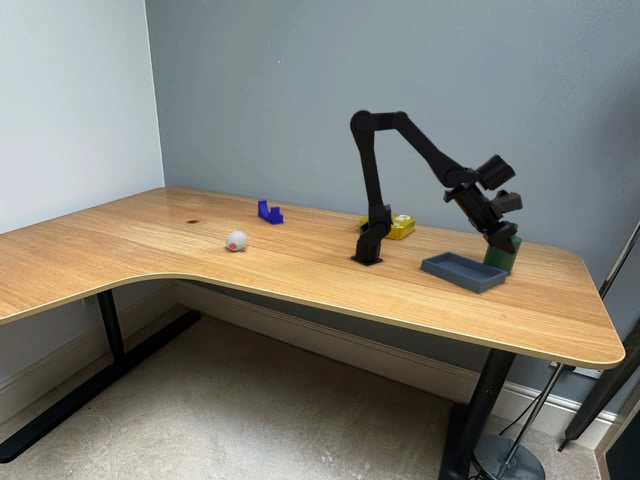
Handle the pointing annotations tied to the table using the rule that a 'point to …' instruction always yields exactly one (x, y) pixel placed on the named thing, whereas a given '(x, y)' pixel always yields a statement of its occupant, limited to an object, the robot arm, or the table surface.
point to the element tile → (397, 225)
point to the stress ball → (236, 240)
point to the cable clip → (271, 217)
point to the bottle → (502, 255)
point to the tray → (464, 271)
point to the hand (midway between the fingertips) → (509, 248)
